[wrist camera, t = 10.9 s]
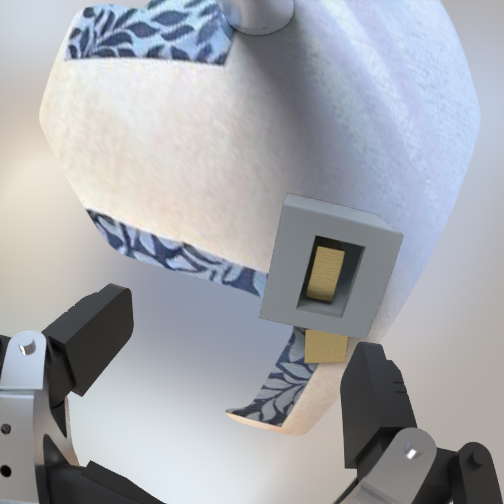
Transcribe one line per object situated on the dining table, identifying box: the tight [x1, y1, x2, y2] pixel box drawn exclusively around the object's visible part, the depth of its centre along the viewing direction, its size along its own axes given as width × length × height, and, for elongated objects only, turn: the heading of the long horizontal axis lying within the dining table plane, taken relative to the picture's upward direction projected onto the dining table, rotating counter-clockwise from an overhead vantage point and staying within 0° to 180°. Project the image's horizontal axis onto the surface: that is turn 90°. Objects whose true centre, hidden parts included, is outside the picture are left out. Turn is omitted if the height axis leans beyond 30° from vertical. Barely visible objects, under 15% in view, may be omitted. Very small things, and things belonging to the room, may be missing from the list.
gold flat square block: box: [306, 235, 345, 301], centre depth 34 cm, size 6×3×6 cm
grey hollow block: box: [259, 193, 404, 339], centre depth 32 cm, size 12×12×10 cm
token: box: [305, 328, 348, 363], centre depth 40 cm, size 6×6×3 cm
